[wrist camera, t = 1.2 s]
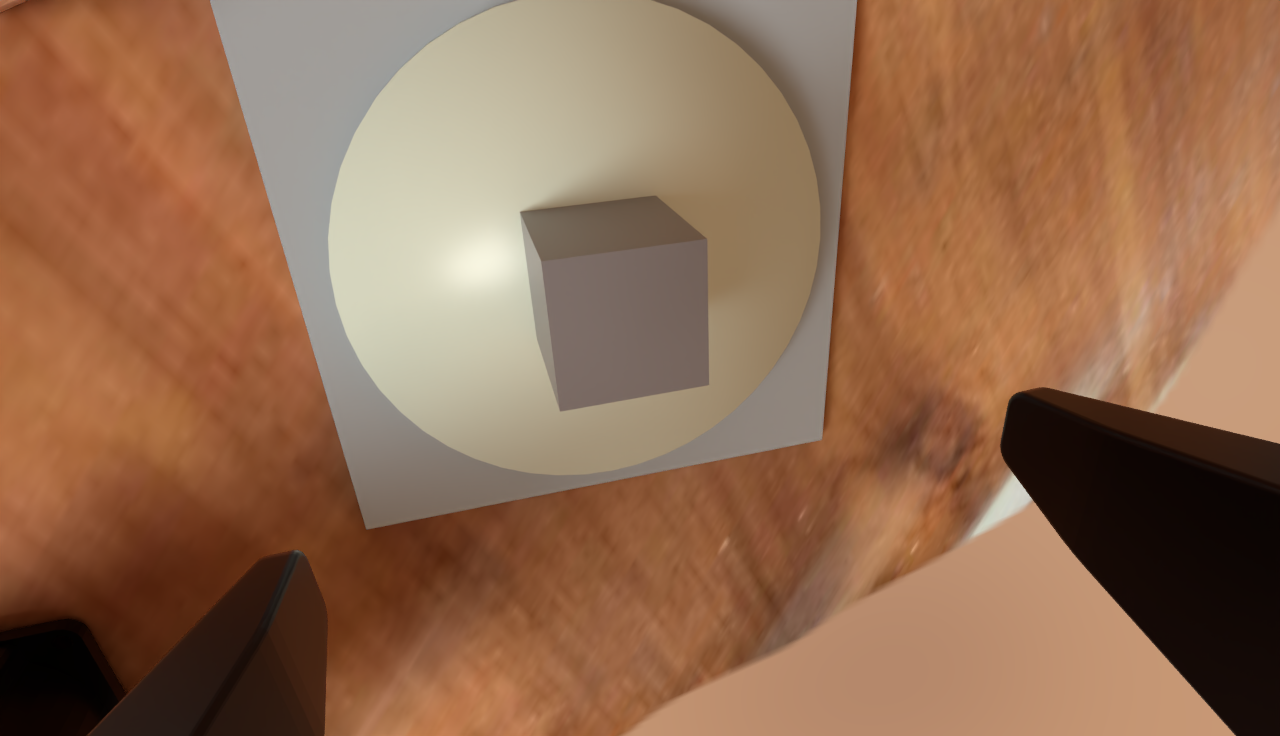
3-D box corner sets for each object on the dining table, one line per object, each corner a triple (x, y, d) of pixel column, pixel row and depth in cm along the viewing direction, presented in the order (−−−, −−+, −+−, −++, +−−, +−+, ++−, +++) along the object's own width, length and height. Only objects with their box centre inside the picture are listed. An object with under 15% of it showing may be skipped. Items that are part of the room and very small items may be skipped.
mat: (816, 433, 25) (822, 439, 25) (367, 521, 22) (366, 529, 22) (854, -70, 18) (862, -72, 18) (202, -42, 15) (197, -43, 15)
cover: (796, 419, 24) (874, 506, 20) (394, 497, 21) (385, 616, 17) (821, -24, 18) (939, -33, 14) (263, 10, 15) (201, 10, 11)
